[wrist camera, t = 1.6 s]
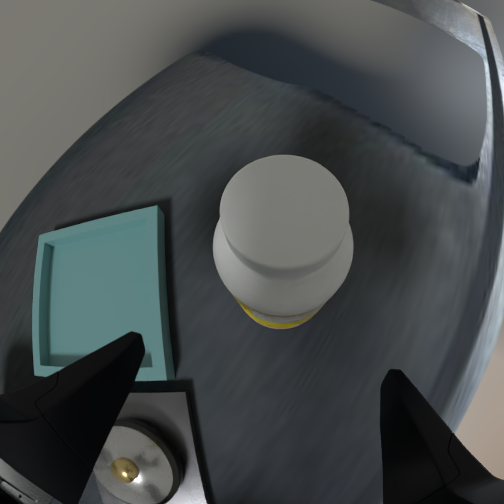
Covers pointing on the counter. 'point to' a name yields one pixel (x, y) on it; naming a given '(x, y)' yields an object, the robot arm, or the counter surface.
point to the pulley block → (152, 453)
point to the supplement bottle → (283, 239)
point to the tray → (102, 292)
